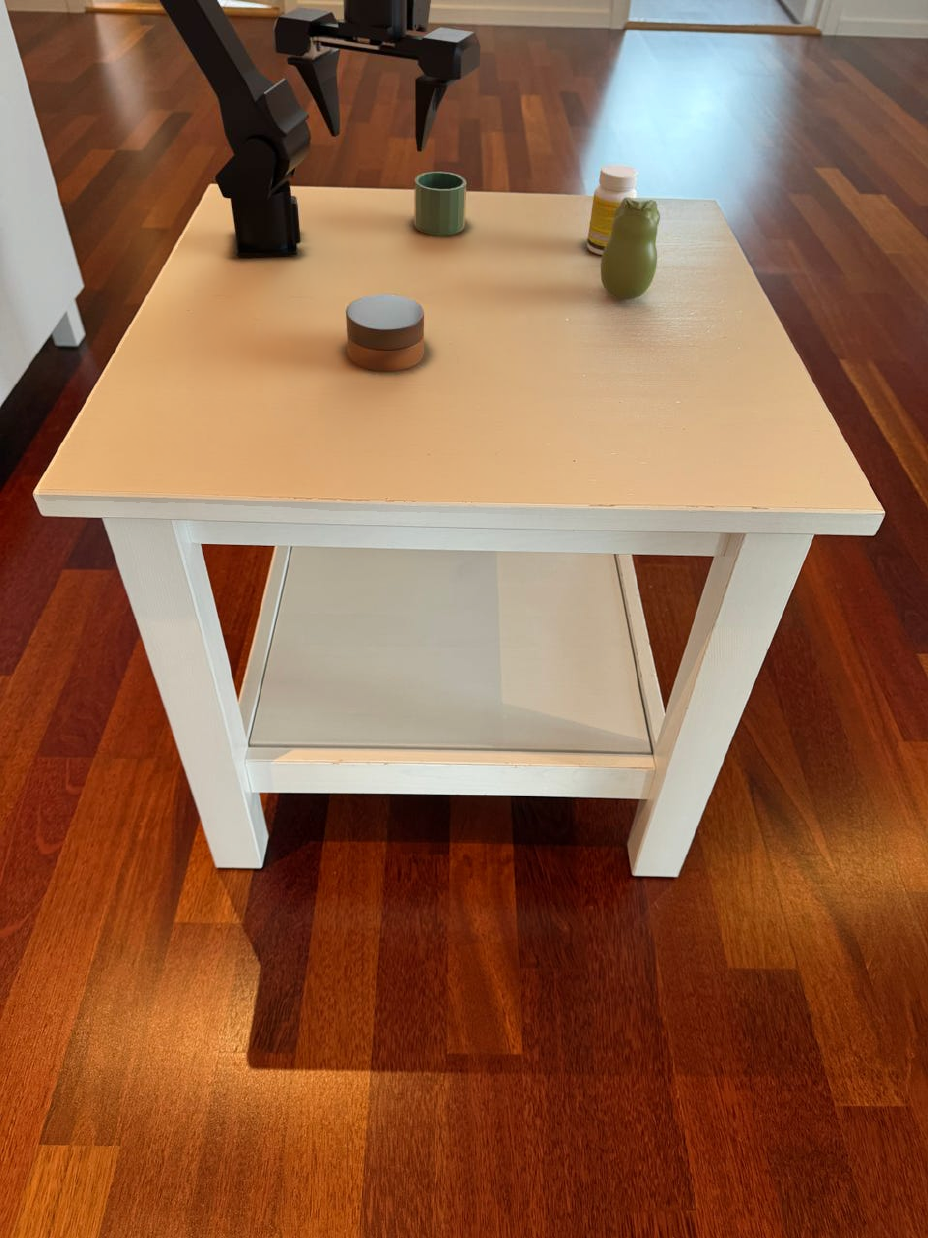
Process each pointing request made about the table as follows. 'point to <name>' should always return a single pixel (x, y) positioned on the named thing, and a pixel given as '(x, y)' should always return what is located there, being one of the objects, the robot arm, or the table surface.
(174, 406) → the table surface
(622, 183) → the supplement bottle
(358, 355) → the teak chip
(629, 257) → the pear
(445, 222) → the plastic cup
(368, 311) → the walnut chip
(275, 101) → the robot arm
